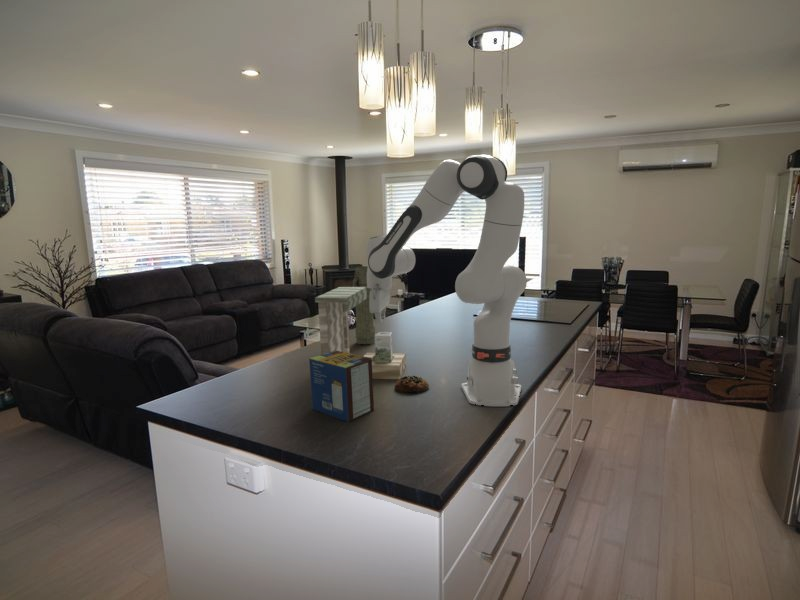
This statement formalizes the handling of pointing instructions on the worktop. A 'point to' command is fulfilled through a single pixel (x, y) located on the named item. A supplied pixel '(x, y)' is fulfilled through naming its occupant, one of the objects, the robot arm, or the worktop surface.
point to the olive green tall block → (363, 310)
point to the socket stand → (337, 331)
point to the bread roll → (411, 385)
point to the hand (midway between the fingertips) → (380, 320)
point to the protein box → (342, 384)
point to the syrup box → (383, 347)
